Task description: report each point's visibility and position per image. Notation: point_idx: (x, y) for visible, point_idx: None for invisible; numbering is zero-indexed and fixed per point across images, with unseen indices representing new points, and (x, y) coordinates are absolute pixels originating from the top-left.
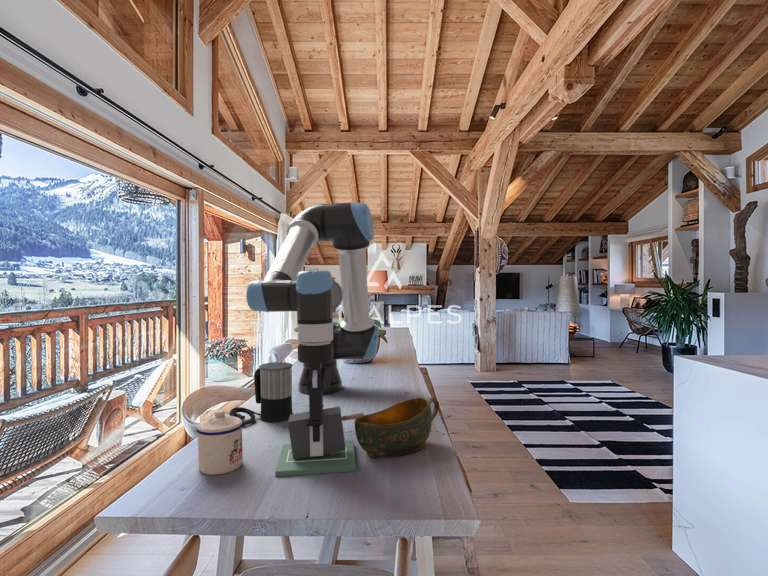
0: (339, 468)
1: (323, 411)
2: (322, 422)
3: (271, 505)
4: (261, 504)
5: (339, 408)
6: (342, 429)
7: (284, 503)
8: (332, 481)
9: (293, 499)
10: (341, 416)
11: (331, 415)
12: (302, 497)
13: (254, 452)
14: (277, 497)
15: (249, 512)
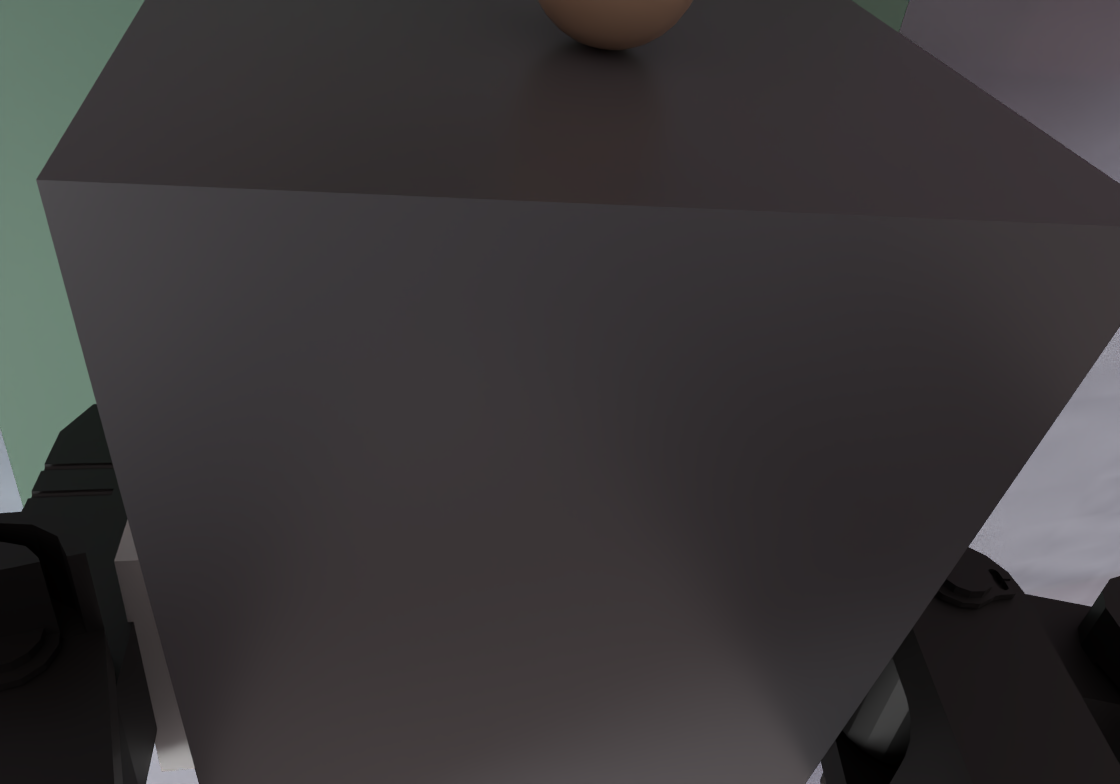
0: (897, 20)
1: (478, 697)
2: (985, 576)
3: (1084, 519)
4: (1038, 568)
5: (473, 237)
6: (861, 16)
7: (1111, 456)
8: (1017, 110)
9: (1101, 411)
10: (252, 5)
11: (980, 483)
12: (1115, 357)
13: (174, 775)
14: (1013, 504)
15: (1081, 601)
